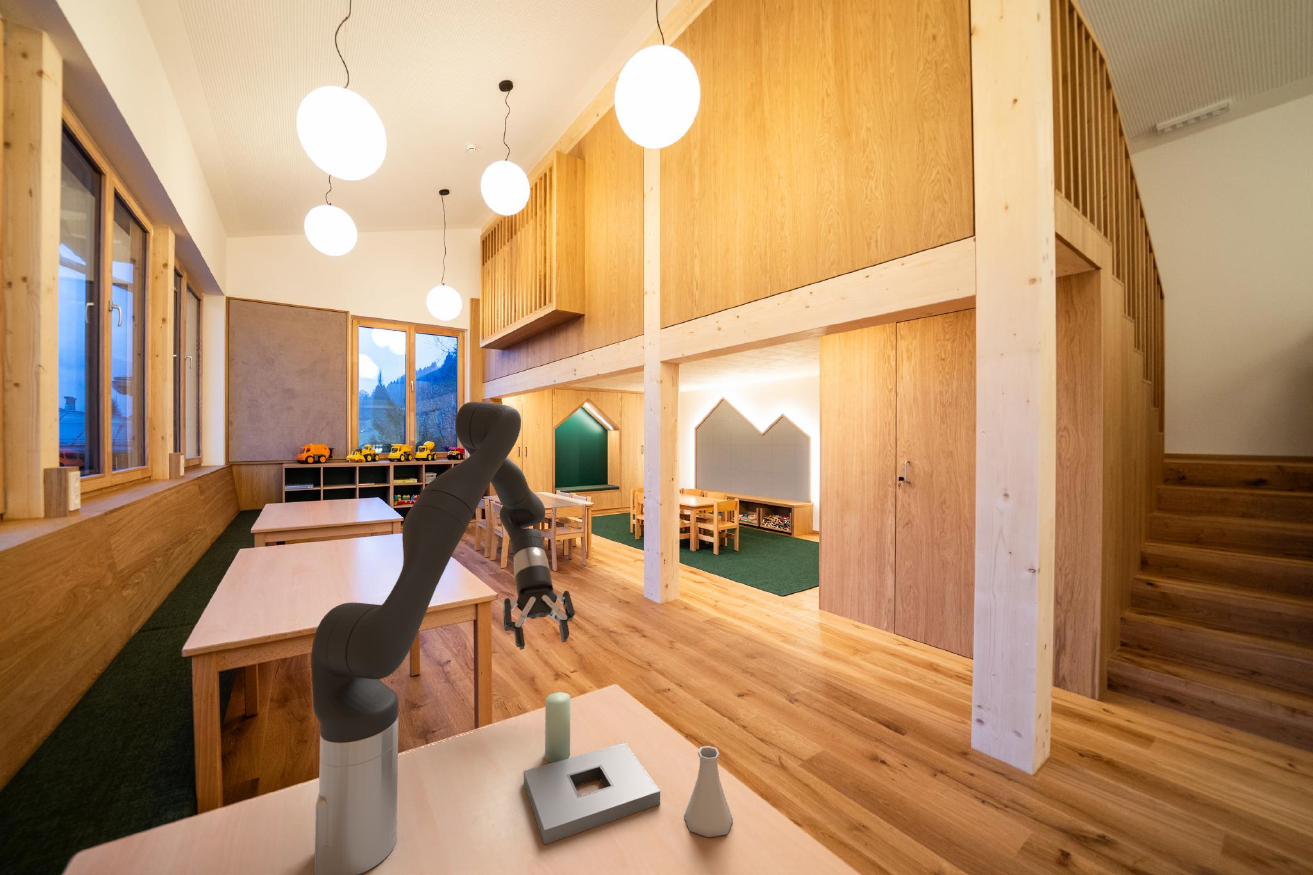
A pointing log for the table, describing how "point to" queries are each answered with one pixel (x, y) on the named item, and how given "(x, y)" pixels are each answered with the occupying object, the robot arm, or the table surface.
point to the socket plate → (573, 813)
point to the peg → (557, 727)
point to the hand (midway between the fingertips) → (544, 644)
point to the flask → (708, 798)
